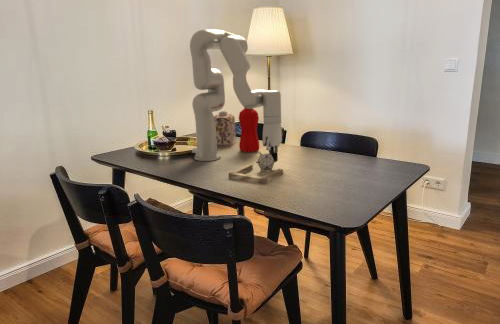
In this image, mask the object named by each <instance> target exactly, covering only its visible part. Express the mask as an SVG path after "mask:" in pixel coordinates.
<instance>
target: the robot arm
mask: <svg viewBox="0 0 500 324" xmlns="http://www.w3.org/2000/svg"><path fill="white" fill-rule="evenodd" d="M189 49H190V50H189V51H190V56H191V63H192V65H191V66H192V76H193V78H192V79H193V84H194V87H195V89H197V90H200V91H205V90H207V92H201V93H198V94H196V95H195V96H194V97H193V99H192V110H193V114H194V120H195V121H194V122H195V133H196V134H195V135H196V136H195V137H196V147H193V148H192V150H191V153H193V154H194V160H195V161H198V162H213V161H217V160H219V159H221V154H219V153H218V145H217V142H216V122H215V118H214V113H213V112H218V111H222V109H223V108H224V107H225V103H226V92H225V81H224V75H223V73H222V72H221V71H220V70H219V69H218V68H212V61H211V57H210V55H209V52H208V50H220V52H221V54H222V56H223V58H224V59H225V61H226V64H227V65H228V66H227V67H228V68H229V69H230V71H231V73H232V88H233V91H234V94H235V95H236V97H237V99H238V101H239V103H240V104H241V105H242V107H243V108H244V107H245V108H247V109H256V108H261V107H263V108H262V109H263V110H262V111H263V112H262V113H263V126H262V146H263V147H266V148H265V150H266V151H268V154H270V153H271V152H272V153H271V155H272V157H273V159H274V161H277V162H278V159H279V158H278V155H279V154H278V152H279V147H281V144H282V142H283V133H282V132H283V131H282V100H281V99H282V97H281V95H282V93H281V92H280V90H276V89H275V90H274V89H271V90H269V89H268V90H266V89H253V90H252V89H251V87H250V86H249V83H248V81H247V73H248V71H249V70H250V68H251V64H250V62H249V60H248V58H247V56H246V53H247V52H248V50H249V48H248V42H247V40H246V38H244V37H243V36H241V35H237V34H234V33H231V32H228V31H225V30H221V29H209V28H207V29H205V28H204V29H200V30H197V31H196V32H195V33H194V34H193V35H192V36H191V38H190V41H189Z"/></svg>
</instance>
